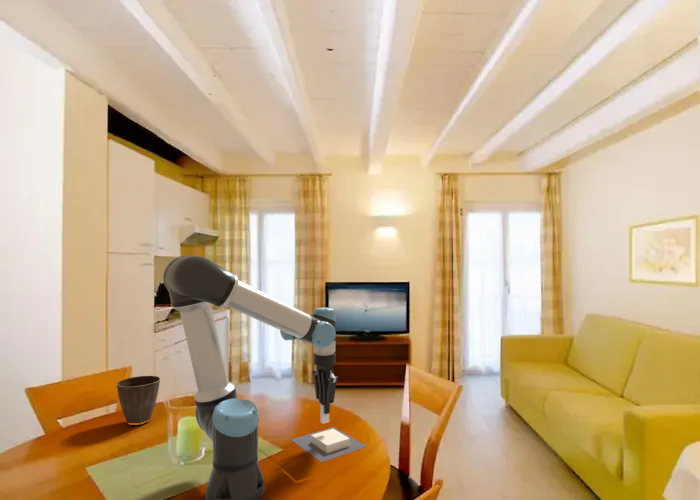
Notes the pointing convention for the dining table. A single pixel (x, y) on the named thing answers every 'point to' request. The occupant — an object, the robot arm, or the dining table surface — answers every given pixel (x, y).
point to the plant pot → (138, 397)
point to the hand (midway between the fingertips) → (324, 422)
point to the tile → (330, 440)
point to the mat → (320, 454)
